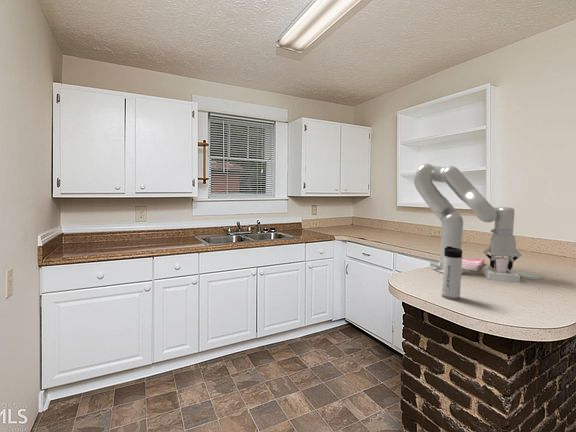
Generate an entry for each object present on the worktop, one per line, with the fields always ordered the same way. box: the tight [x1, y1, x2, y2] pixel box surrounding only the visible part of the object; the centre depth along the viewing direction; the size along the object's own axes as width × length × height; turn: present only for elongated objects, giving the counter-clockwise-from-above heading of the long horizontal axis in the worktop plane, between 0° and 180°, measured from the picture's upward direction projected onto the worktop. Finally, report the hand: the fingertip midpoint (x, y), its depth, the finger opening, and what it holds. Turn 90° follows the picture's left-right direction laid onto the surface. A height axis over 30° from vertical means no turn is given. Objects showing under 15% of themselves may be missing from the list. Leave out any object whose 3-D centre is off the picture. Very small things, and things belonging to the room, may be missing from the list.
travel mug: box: [441, 246, 463, 301], centre depth 118 cm, size 6×7×20 cm
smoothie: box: [494, 256, 510, 274], centre depth 146 cm, size 6×6×14 cm
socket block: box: [482, 265, 521, 283], centre depth 147 cm, size 12×12×4 cm
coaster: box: [516, 272, 543, 280], centre depth 149 cm, size 10×10×1 cm
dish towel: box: [461, 257, 485, 272], centre depth 172 cm, size 17×23×4 cm
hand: (500, 268), depth 147 cm, fingers closed on smoothie, 6 cm apart
